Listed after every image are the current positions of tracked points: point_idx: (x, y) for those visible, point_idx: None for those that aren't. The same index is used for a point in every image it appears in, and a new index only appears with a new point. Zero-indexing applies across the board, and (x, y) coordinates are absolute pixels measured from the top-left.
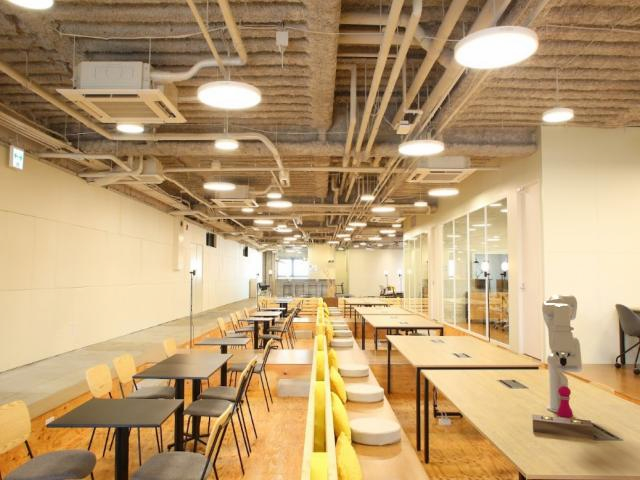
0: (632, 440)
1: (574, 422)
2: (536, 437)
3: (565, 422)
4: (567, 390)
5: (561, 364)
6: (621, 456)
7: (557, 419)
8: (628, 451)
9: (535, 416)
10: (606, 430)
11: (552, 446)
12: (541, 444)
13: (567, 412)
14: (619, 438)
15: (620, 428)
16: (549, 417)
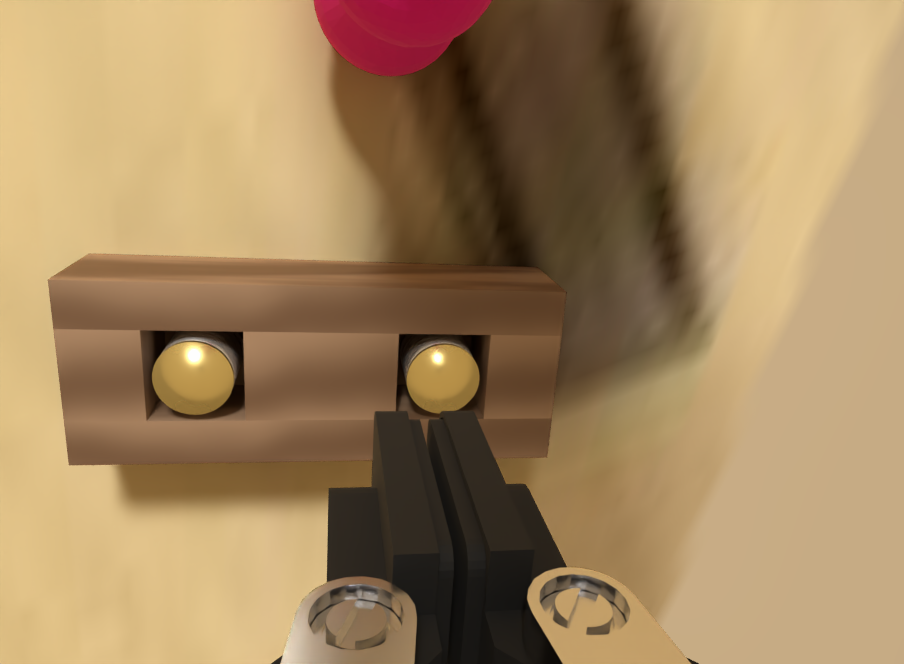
0: (767, 328)
1: (421, 404)
2: (133, 521)
3: (346, 434)
4: (453, 30)
5: (373, 474)
6: None
7: (286, 370)
8: (663, 544)
9: (84, 350)
10: (673, 145)
11: (239, 643)
12: (171, 637)
13: (408, 67)
14: (699, 317)
15: (802, 42)
16: (216, 357)
